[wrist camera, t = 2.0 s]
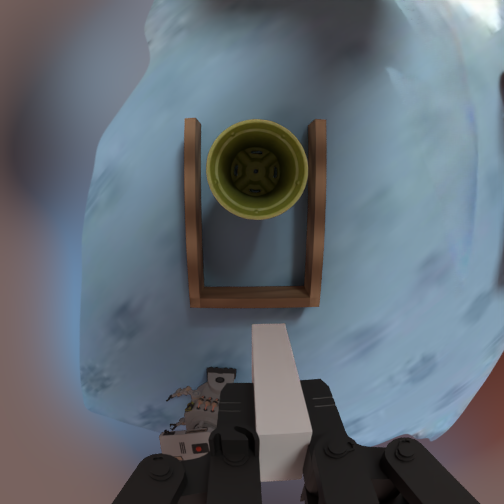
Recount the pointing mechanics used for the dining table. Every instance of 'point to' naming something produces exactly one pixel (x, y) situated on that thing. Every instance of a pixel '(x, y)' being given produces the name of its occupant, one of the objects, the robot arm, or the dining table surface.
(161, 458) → the robot arm
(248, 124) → the plant pot
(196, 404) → the figurine
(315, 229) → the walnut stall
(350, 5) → the dining table surface
